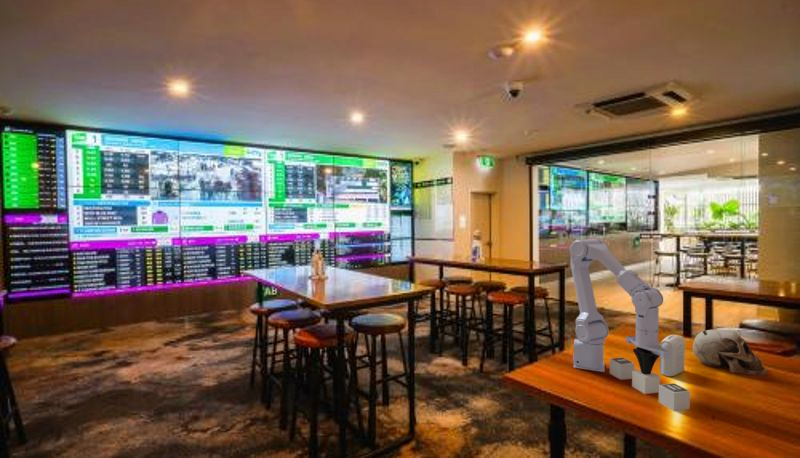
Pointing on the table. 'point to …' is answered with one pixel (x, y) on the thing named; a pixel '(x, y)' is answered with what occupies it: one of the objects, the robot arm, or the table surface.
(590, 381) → the table surface
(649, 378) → the plain block
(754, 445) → the table surface
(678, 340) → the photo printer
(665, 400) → the marked block 2
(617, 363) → the marked block 1
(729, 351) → the grey skull
